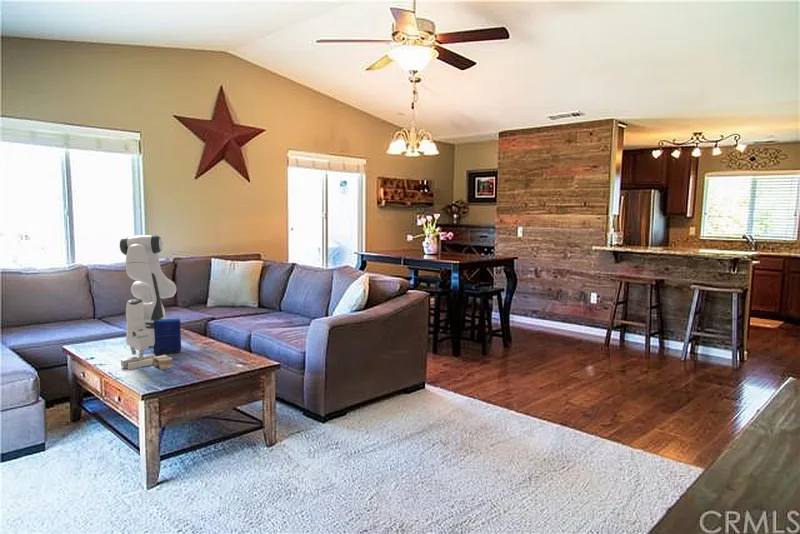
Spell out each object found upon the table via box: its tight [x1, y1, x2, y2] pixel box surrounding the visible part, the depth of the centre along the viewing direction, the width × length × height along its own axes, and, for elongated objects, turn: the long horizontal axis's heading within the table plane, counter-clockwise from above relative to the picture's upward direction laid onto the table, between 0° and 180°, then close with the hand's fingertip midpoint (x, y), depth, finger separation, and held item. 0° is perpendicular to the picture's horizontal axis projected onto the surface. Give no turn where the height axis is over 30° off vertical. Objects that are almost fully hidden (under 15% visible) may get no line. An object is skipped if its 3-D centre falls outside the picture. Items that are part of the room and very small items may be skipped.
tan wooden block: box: [153, 354, 173, 371], centre depth 273 cm, size 9×6×5 cm
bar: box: [120, 352, 156, 368], centre depth 276 cm, size 4×16×4 cm, turn 138°
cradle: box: [125, 358, 154, 370], centre depth 276 cm, size 8×12×3 cm, turn 138°
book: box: [153, 318, 182, 355], centre depth 298 cm, size 14×5×20 cm, turn 105°
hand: (137, 356), depth 275 cm, fingers open, 8 cm apart
